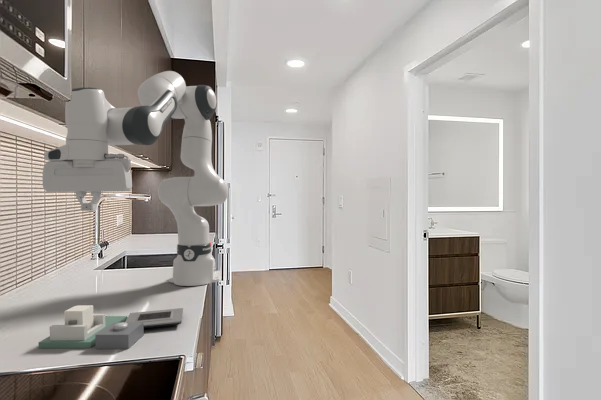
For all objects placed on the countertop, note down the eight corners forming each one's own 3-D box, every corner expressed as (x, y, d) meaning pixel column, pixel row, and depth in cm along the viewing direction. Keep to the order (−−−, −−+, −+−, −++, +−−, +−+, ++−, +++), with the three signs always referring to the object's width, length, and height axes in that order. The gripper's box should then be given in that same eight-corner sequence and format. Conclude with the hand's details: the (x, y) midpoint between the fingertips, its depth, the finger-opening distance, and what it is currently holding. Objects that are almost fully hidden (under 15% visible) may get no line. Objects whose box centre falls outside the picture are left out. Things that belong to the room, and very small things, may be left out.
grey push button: (113, 335, 81) (113, 319, 81) (143, 335, 81) (143, 319, 81) (95, 348, 74) (95, 331, 74) (128, 348, 74) (128, 330, 74)
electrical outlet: (122, 336, 82) (121, 326, 82) (130, 320, 92) (130, 311, 92) (181, 329, 86) (181, 320, 85) (183, 315, 96) (183, 306, 96)
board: (85, 320, 91) (84, 304, 91) (127, 320, 91) (127, 304, 91) (38, 348, 75) (38, 328, 75) (89, 347, 75) (89, 328, 75)
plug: (76, 326, 82) (76, 305, 82) (93, 326, 82) (93, 305, 82) (63, 334, 77) (62, 312, 77) (81, 334, 77) (80, 311, 77)
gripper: (136, 155, 89) (137, 209, 89) (55, 155, 89) (57, 210, 89) (123, 152, 83) (124, 210, 83) (37, 153, 83) (38, 211, 83)
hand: (89, 210), depth 86 cm, fingers closed
